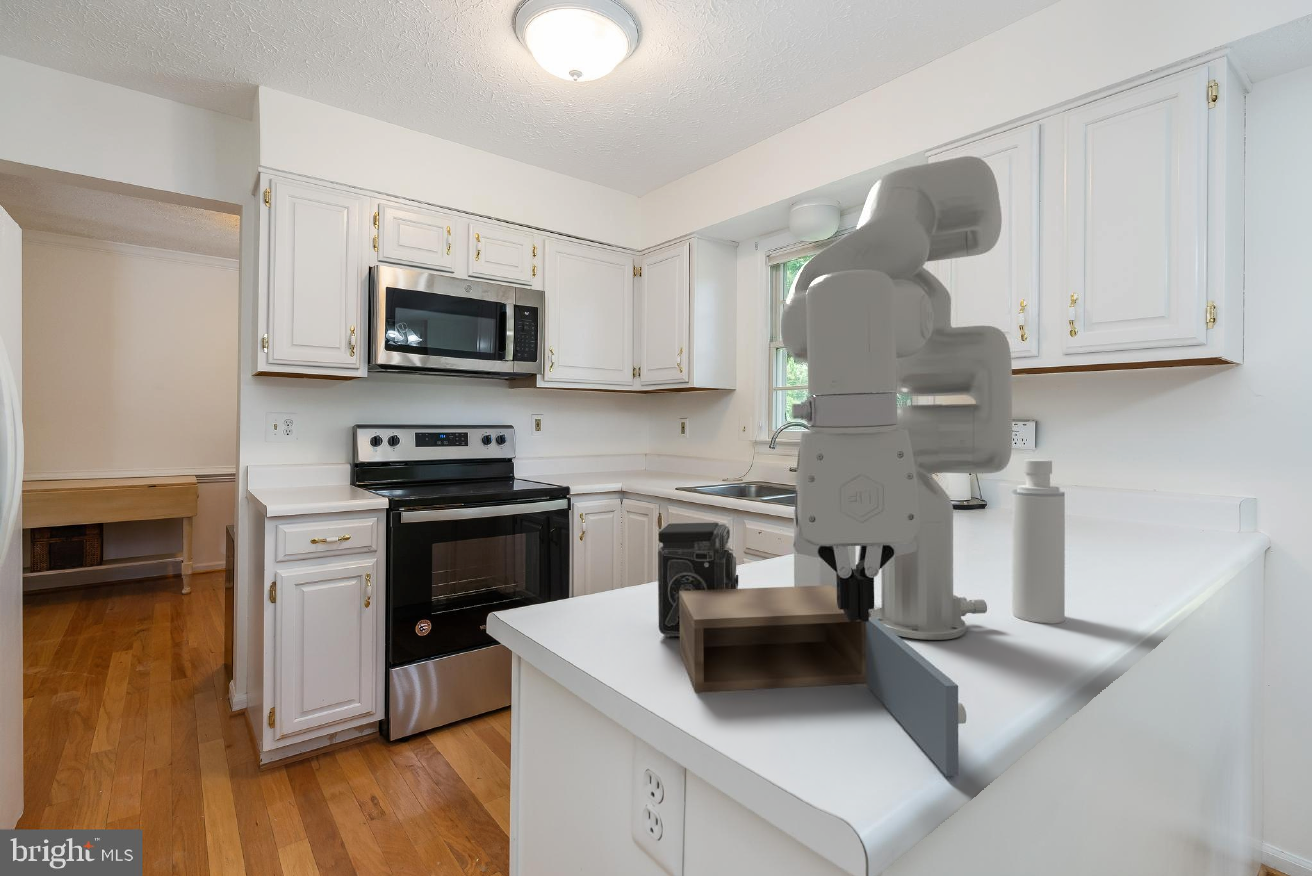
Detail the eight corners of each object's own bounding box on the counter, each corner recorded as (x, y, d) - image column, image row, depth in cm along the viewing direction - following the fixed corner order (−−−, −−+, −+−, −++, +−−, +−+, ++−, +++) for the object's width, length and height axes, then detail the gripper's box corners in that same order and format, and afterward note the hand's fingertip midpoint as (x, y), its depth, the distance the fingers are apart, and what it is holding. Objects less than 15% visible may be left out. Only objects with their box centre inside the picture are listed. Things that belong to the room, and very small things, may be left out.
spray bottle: (1036, 608, 98) (1036, 448, 98) (1075, 621, 92) (1076, 449, 92) (1001, 612, 97) (1001, 449, 96) (1039, 625, 90) (1039, 450, 90)
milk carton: (820, 608, 100) (820, 488, 99) (793, 597, 106) (793, 484, 106) (856, 603, 103) (855, 486, 102) (827, 592, 109) (827, 482, 109)
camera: (734, 646, 83) (734, 533, 83) (656, 642, 85) (655, 531, 85) (740, 622, 93) (739, 521, 93) (670, 618, 95) (669, 519, 95)
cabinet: (830, 645, 83) (830, 585, 83) (870, 682, 71) (870, 612, 71) (679, 653, 81) (679, 590, 81) (694, 692, 69) (694, 619, 69)
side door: (866, 683, 70) (865, 617, 70) (887, 683, 70) (887, 616, 70) (946, 776, 51) (946, 685, 51) (975, 775, 52) (975, 685, 51)
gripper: (771, 419, 53) (777, 633, 54) (955, 413, 52) (957, 631, 53) (763, 416, 60) (768, 604, 62) (923, 410, 59) (925, 602, 61)
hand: (855, 616), depth 57 cm, fingers closed
